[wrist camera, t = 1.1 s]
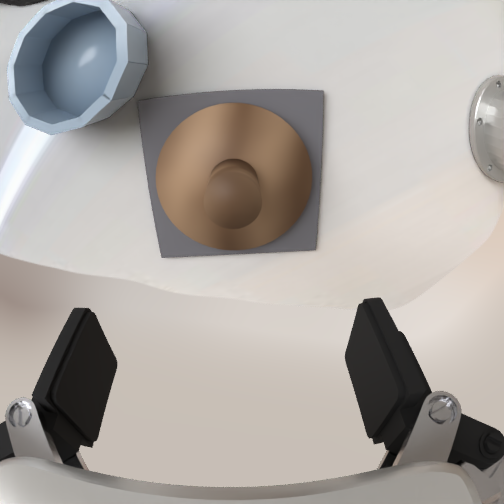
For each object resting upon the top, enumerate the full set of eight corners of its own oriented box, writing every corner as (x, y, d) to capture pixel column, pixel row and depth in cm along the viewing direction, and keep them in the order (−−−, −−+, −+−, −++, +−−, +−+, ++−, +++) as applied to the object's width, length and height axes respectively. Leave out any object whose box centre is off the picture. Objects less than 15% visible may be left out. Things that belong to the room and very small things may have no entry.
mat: (321, 90, 22) (323, 90, 22) (314, 247, 30) (315, 250, 29) (139, 100, 22) (137, 101, 21) (162, 255, 30) (161, 257, 29)
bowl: (146, -8, 17) (127, -25, 12) (151, 110, 22) (132, 117, 18) (38, 28, 16) (7, 25, 12) (46, 132, 22) (15, 146, 18)
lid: (311, 101, 22) (330, 107, 17) (306, 241, 29) (319, 275, 24) (150, 110, 22) (127, 119, 17) (170, 248, 29) (158, 283, 24)
